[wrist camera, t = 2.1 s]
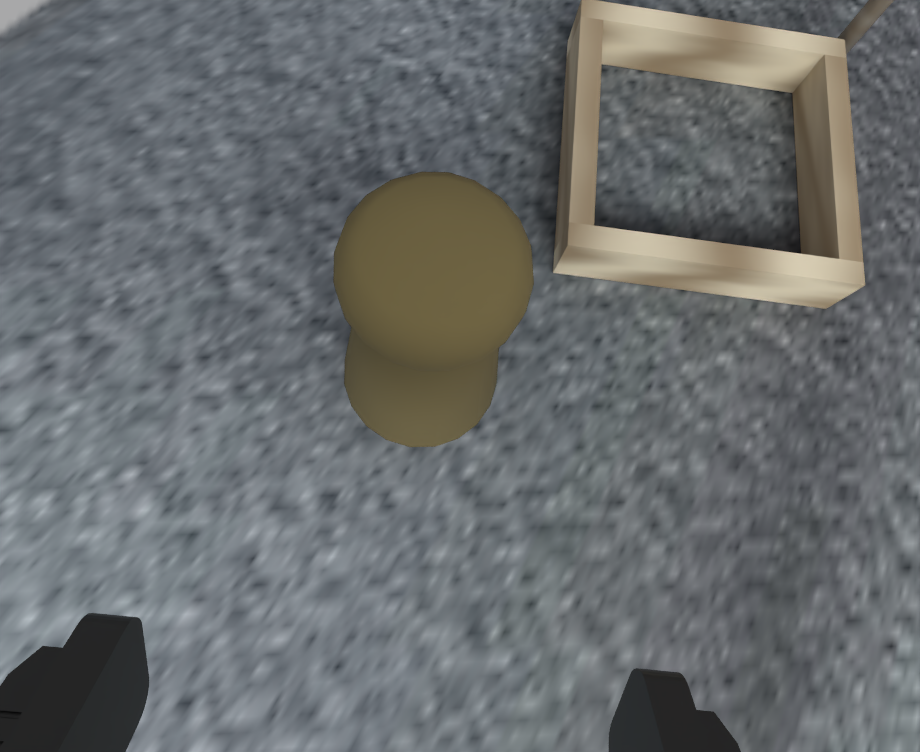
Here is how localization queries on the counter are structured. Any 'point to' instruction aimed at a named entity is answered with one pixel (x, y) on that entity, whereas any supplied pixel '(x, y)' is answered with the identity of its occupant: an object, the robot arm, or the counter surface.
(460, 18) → the counter surface
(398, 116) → the counter surface
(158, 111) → the counter surface
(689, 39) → the wooden square frame
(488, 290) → the cork
